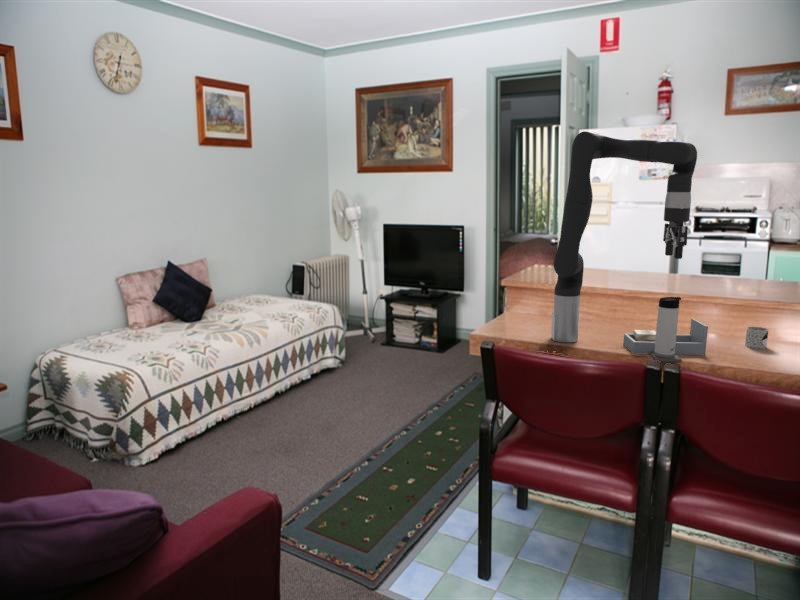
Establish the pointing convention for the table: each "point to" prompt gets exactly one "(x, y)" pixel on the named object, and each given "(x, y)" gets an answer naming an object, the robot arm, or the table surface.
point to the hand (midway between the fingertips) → (673, 257)
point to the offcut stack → (644, 335)
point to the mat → (673, 359)
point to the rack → (684, 343)
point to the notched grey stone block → (756, 337)
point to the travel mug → (667, 327)
